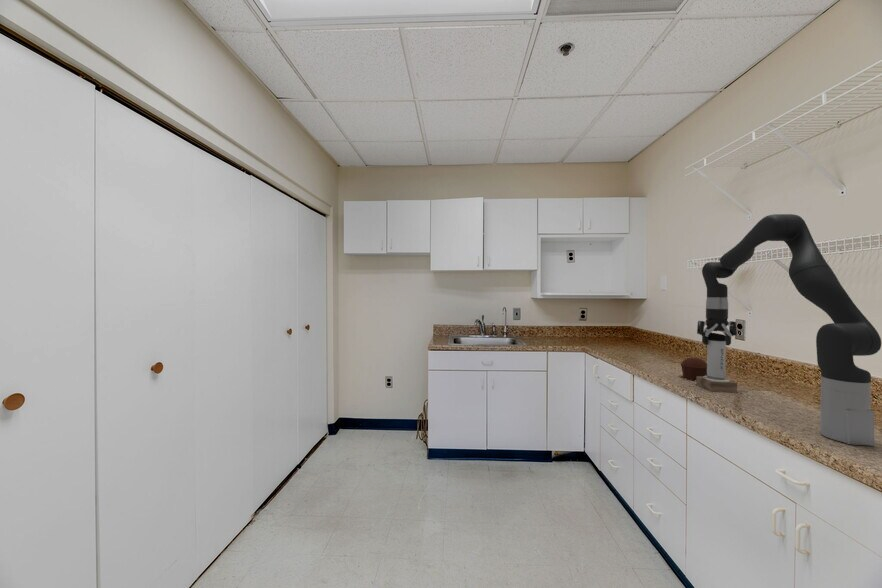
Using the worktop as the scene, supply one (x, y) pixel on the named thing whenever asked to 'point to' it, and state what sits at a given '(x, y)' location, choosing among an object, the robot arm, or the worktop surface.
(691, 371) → the muffin
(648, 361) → the worktop surface
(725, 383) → the walnut stand
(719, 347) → the travel mug
